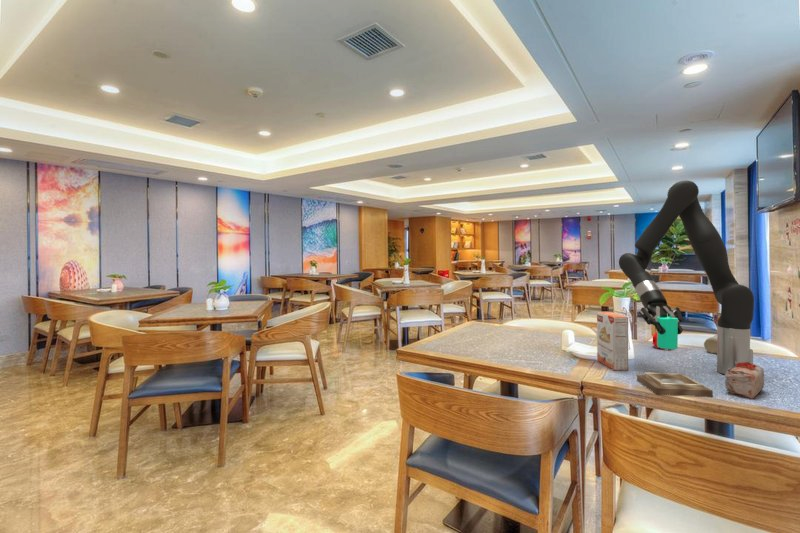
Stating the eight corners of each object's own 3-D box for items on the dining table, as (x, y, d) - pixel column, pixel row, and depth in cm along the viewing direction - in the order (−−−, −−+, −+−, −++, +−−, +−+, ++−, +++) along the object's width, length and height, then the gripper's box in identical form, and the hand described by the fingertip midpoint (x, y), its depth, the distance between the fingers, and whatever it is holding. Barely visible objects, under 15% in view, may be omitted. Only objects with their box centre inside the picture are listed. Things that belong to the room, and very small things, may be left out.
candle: (680, 349, 133) (681, 315, 133) (661, 348, 135) (661, 314, 134) (672, 345, 139) (673, 312, 139) (654, 344, 141) (654, 311, 140)
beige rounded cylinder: (702, 352, 174) (702, 335, 174) (710, 349, 178) (711, 333, 178) (731, 358, 165) (732, 340, 165) (739, 355, 169) (740, 337, 169)
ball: (653, 345, 188) (653, 330, 187) (673, 347, 183) (673, 331, 183) (652, 349, 181) (652, 332, 181) (673, 351, 176) (673, 334, 176)
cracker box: (596, 360, 162) (596, 311, 161) (610, 361, 162) (611, 311, 161) (612, 370, 148) (612, 316, 147) (628, 371, 148) (629, 316, 147)
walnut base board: (687, 382, 134) (687, 373, 134) (712, 396, 120) (712, 386, 120) (637, 380, 137) (637, 371, 137) (656, 394, 123) (656, 384, 123)
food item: (756, 401, 117) (757, 369, 117) (723, 394, 123) (723, 363, 123) (765, 391, 125) (766, 361, 125) (733, 384, 132) (734, 356, 131)
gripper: (635, 289, 144) (656, 327, 132) (674, 288, 144) (698, 326, 132) (627, 301, 149) (646, 339, 138) (664, 301, 149) (686, 338, 138)
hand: (671, 333), depth 135 cm, fingers closed on candle, 5 cm apart
